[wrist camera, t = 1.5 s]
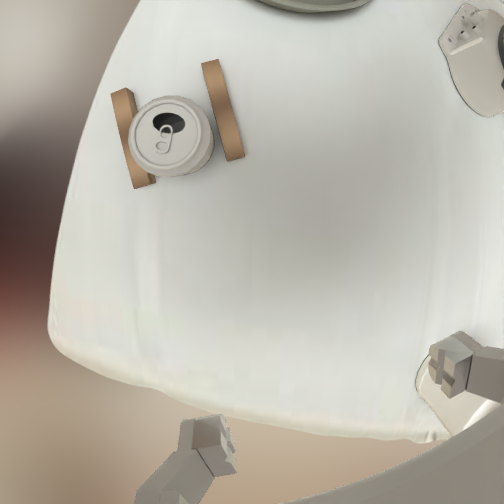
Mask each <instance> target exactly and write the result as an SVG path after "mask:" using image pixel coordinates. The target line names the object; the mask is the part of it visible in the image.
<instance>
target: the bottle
mask: <svg viewBox="0 0 504 504" xmlns="http://www.w3.org/2000/svg"><path fill="white" fill-rule="evenodd" d="M430 359H431V356H430V355H429V356H428V357H427V358H426V359H425V361H424V362H423V364H422V366H421V368H420V370H419V371H418V375H417V379H416V387H417V391H418V393H419V395H420V396H421V398H422V399H423V400H424V401H425V402H426V403H427V404H428V405H429V407H430V408H431V409H432V411H433V412H434V413H435V415H436V416H437V417H438V419H439V420H440V421H441V423H442V424H443V425H444V427H445V428H446V429H447V431H448V432H449V433H450V435H451V436H452V437H453V436H455V435H456V434H458V433H460V432H461V431H463V430H465V429H466V428H468V427H470V426H471V425H473V424H474V423H476V422H477V421H479V420H480V419H482V418H483V417H485V416H486V415H488V414H489V413H491V412H492V411H494V410H495V409H496V408H498V407H499V406H500V405H501V403H498V402H495V401H492V400H489V399H486V398H483V397H481V396H478V395H475V394H472V393H469V392H467V391H466V390H465V391H464V392H462V393H460V394H458V395H456V396H454V397H453V398H451V399H449V398H448V397H447V396H446V395H445V394H444V393H443V392H442V390H441V385H439V384H435V383H434V382H433V380H432V379H431V377H430V375H429V371H428V363H429V361H430Z"/></svg>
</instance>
